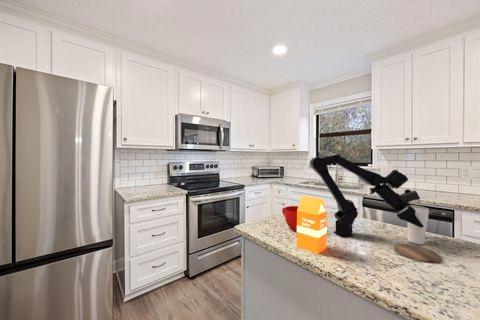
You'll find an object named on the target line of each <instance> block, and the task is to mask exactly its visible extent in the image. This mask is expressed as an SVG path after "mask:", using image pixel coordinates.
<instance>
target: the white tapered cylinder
mask: <svg viewBox="0 0 480 320" xmlns="http://www.w3.org/2000/svg"><path fill="white" fill-rule="evenodd" d="M409 205H410V206H412V207H413V208H414V209H415V210H416V212H415V216H416V217H417V218H418V220H419V221H420V222H421V223H422V225H423V226H424V227H422V228H421V227H418V226H416V225H414V224H412V223H410V222H407V221H406V223H407V224H406V225H407V226H406V227H407V228H406V229H407V238H406V239H407V240H408V242H410V243H411V244H414V245H415V244H416V245H423V244H425V239H426V232H427V227H428V221H429V215H430V214H429V208H428V207H425V206H422V205H414V204H413V205H412V204H409Z"/></svg>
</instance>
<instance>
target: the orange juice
mask: <svg viewBox="0 0 480 320" xmlns="http://www.w3.org/2000/svg"><path fill="white" fill-rule="evenodd" d="M298 206H299V207H298V210H297V231H296V247H297V248H300V249H302V250H305V251H308V252H311V253H314V254H316V255H319V254H320V253H321V252H323V251H324V250H326V249H327V233H328V232H327V230H328V229H327V228H328V225H327V223H328V222H327V220H328V218H327V217H328V212H327V209H326V205H325V202H324V200H323V198H321V197H315V196H307V195H301V199H300V200H299V205H298Z"/></svg>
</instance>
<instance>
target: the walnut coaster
mask: <svg viewBox="0 0 480 320" xmlns="http://www.w3.org/2000/svg"><path fill="white" fill-rule="evenodd" d="M393 251H394V252H395V253H397V254H398V255H400V256H401V257H404V258H406V259H409V260H413V261H417V262H420V263H427V264H429V263H430V264H434V263H439V262H440V261H441V256H440V254H438V253H437V252H435V251H434V250H431V249H428V248H426V247H423V246H419V245H417V244H416V245H415V244H408V243H397V244H394V245H393Z"/></svg>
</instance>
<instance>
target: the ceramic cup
mask: <svg viewBox="0 0 480 320" xmlns="http://www.w3.org/2000/svg"><path fill="white" fill-rule="evenodd" d="M298 207H299V205H289V206H285V207H283V208H282V209H281V210H282V214H283V216H284V219H285V222H286V224H287V226H288V227H289V229H290V230H291V231H294V232H297V210H298Z"/></svg>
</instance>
